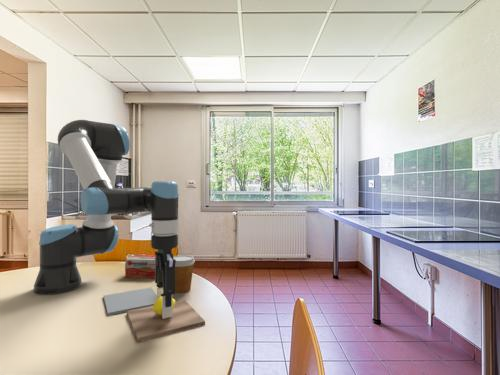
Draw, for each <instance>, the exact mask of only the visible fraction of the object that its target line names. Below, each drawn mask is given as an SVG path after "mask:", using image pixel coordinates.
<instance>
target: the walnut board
mask: <svg viewBox="0 0 500 375" xmlns="http://www.w3.org/2000/svg"><path fill="white" fill-rule="evenodd" d="M126 316H127V319H128V321H129V324H130V326H131V329H132V331H133V333H134V336H135V340H136V342H137V343H140V342H143V341H144V342H145V341H147V340H151V339H155V338H160V337H163V336H167V335H170V334H174V333H179V332H182V331H185V330H191V329H193V328H197V327H200V326H204V325H206V320H205V319H204V318H203V317H202V316H201V315H200V314H199V313H198V312H197V311H196V310H195V309H194V307H192V306H191V305H190V303H189V302H188V301H186V299H180V300H175V305H174V309H173V310H172V317H168V318H164V319H163V318H162V315H157V314H156V313H155V312H154V311H153V306H150V307H145V308H140V309H135V310H130V311H127V312H126Z"/></svg>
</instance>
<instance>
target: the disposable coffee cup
mask: <svg viewBox="0 0 500 375" xmlns="http://www.w3.org/2000/svg"><path fill="white" fill-rule="evenodd" d="M173 259H175V260H176V263H175V293H187V292H189V291H190V290H191V287H192V279H193V271H194V264H195V262H196V260H195V257H194V256H193V255H187V254H182V255H181V254H180V255H173Z"/></svg>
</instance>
